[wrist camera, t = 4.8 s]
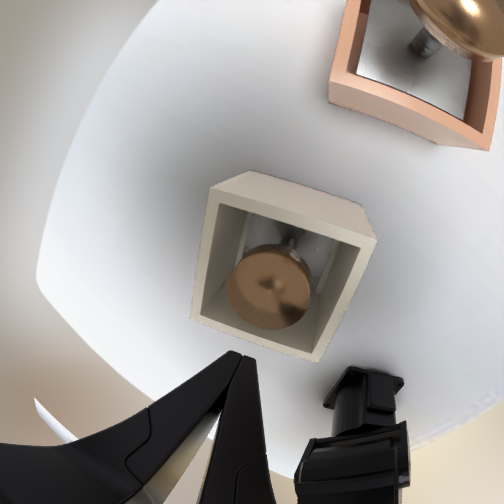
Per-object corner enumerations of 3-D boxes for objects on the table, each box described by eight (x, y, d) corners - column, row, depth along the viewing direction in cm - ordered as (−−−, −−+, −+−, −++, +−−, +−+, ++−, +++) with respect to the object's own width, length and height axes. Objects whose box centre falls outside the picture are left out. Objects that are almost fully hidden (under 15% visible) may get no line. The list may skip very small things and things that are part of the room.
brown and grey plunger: (458, 120, 10) (543, 118, 4) (355, 76, 11) (377, 19, 4) (470, 34, 7) (535, -7, 1) (372, -10, 8) (389, -88, 2)
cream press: (324, 300, 21) (317, 363, 15) (228, 268, 22) (189, 318, 16) (361, 204, 18) (377, 240, 12) (250, 170, 19) (209, 187, 13)
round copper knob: (315, 290, 20) (304, 355, 14) (241, 265, 21) (202, 319, 15) (342, 217, 18) (347, 262, 11) (258, 191, 19) (220, 220, 12)
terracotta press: (438, 145, 15) (488, 151, 8) (328, 102, 16) (328, 80, 10) (455, 49, 11) (501, 20, 5) (350, 7, 12) (356, -46, 6)
